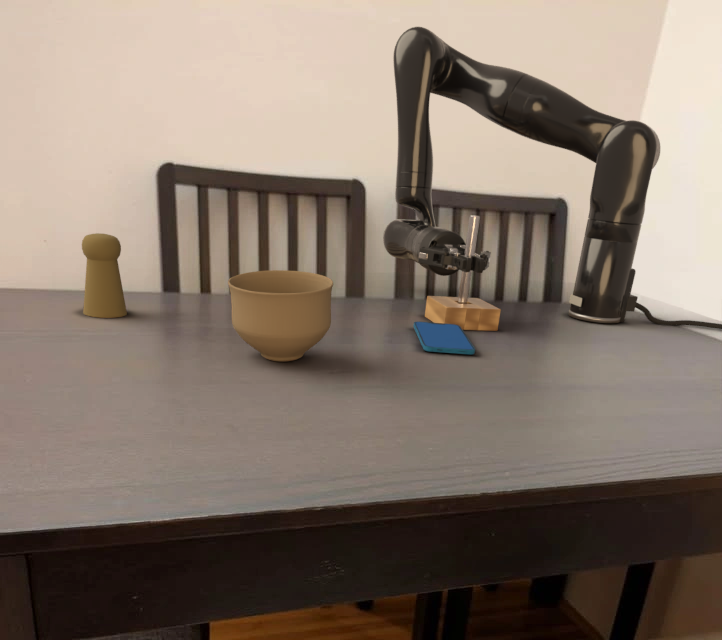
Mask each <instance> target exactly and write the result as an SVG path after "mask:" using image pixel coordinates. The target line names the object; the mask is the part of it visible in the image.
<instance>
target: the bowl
mask: <svg viewBox="0 0 722 640" xmlns="http://www.w3.org/2000/svg"><path fill="white" fill-rule="evenodd" d="M227 284H228V286H229V291H230V301H231V323H232V327H233V329H234V331H235V332H236V333H237V334H238V336H239V337H240V338H241V340H243V341H244V342H245V343H246V344H247V345H249V346H250V347H251V348H253V349H254V350H255V351H257V352H258V353H260V355H261V357H263V358H264V359H266V360H269V361H272V362H281V363H283V362H292V361H296V360H298V359H301V358H302V357H303V356H304V354H305V353H306V352H308V351H309V350H310V349H311V348H313V347H314V346H315V345H317V344H318V343H319V342H321V340H322V339H323V338H324V337H325V335H326V334H327V333H328V331H329V330H330V329H331V328H330V327H331V324H332V291H333V288H334V281H333V280H332V279H331V278H329V277H328V276H325V275H322V274H319V273H314V272H307V271H300V270H287V269H285V270H283V269H281V270H280V269H279V270H278V269H277V270H273V269H272V270H271V269H269V270H257V271H250V272H243V273H239V274H237V275H234V276H232V277H230V278H229V279H228V281H227Z"/></svg>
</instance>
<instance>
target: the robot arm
mask: <svg viewBox="0 0 722 640" xmlns="http://www.w3.org/2000/svg"><path fill="white" fill-rule="evenodd" d="M392 57H393V58H392V59H393V62H392V63H393V74H394V75H393V76H394V84H395V94H396V95H395V96H396V113H397V115H396V116H397V118H396V119H397V157H396V175H395V176H396V177H395V193H394V194H395V195H394V196H395V198H394V199H395V202H396V203H397V204H398V205H399V206H401V207H405V208H407V209H410V210H413V209H414V210H416V213H415V215H416V217H417V219H404V218H403V219H402V218H399V219H397V218H396V219H393V220H391V221H390V222H389V223H388V224H387V225H386V227H385V228H384V230H383V236H382V240H383V241H382V242H383V246H384V248H385V251H386V252H387V253H388V255H390V256H391V257H394V258H397V259H403V260H410V261H413V262H415V263H417V264H419V265H420V266H421V267H423V268H424V269H426V270H428V271H430V272H432V273H433V274H436V275H438V276H443V277H447V276H451V275H454V274H456V273H458V271H461V272H462V271H464V272H470V269H471V262H472V259H471V258H470V257H467V256H464V253H465V246H466V241H465V240H464V238H463V237H462V235H460V234H459V233H457V232H455V231H452V230H450V229H446V228H443V227H441V226H436V221H435V217H434V216H435V215H434V210H433V209H434V208H433V201H432V200H433V199H432V191H433V190H432V189H433V174H434V152H433V143H432V142H433V141H432V134H431V127H430V98H431V94H434V95H437V96H440V97H444V98H447V99H450V100H452V101H455V102H458V103H461V104H463V105H465V106H466V107H468V108H469V109H471V110H472V111H474V112H475V113H477V114H478V115H480V116H482V117H484V118H485V119H486V120H488V121H490V122H492V123H493V124H496V125H498V126H499V127H501V128H504V129H506V130H508V131H510V132H513V133H514V134H516V135H519V136H522V137H524V138H527V139H529V140H532V141H535V142H538V143H541V144H544V145H549V146H552V147H555V148H560V149H564V150H567V151H570V152H574V153H575V154H578V155H580V156H582V157H584V158H586V159H587V160H590V161H591V162H593V163H595V167H594V173H593V179H592V184H591V190H590V195H589V213H588V217H587V221H586V226H585V232H584V237H583V242H582V247H581V251H580V257H579V261H578V267H577V270H576V271H577V272H576V276H575V282H574V286H573V291H572V294H570V297H569V301H568V303H569V305H570V306H569V310H568V316H569V317H571V318H574V319H577V320H580V321H585V322H590V323H599V324H618V323H625V320H626V315H627V312H635V309H638V310H639V311H640V312H642V313H643V314H644V316H645V317H646V319H647V320H648V321H649V322H651V323H652V324H655V325H661V326H675V327H678V326H692V327H700V328H707V329H708V328H709V329H717V330H722V323H716V322H708V321H700V320H688V319H685V320H683V319H681V320H662V319H659V318H656V317H654V316H653V315H652V313H651V311H650V310H649V309H648V308H647V307H646V306H645V305H643V304H641V303H639V302H637V301H638V296H636V295H634V294H631V293H632V289H633V285H634V281H635V277H636V269H635V268H633V264H634V259H635V256H636V250H637V248H638V247H637V246H638V241H639V237H640V233H641V229H642V224H643V220H644V216H645V211H646V201H647V195H648V190H649V186H650V180H651V176H652V171H653V169H654V168H655V167H656V165H657V164H658V162H659V160H660V156H661V142H660V141H661V140H660V139H659V136H658V134H657V133H656V131H655V130H654V129H653V128H652V127H651V126H649V125H648V124H646V123H644V122H642V121H639V120H633V119H632V120H625V119H622V118H618V117H616V116H612V115H609V114H606V113H603V112H600V111H598V110H595V109H594V108H592V107H590V106H588V105H586V104H585V103H584V102H582V101H580V100H579V99H577V98H575V97H574V96H573V95H570V94H569V93H567V92H566V91H564V90H563V89H561V88H558V87H556V86H555V85H553V84H551V83H549V82H547V81H545V80H542V79H540V78H538V77H536V76H533V75H531V74H528V73H526V72H522V71H520V70H516V69H513V68H509V67H506V66H499V65H494V64H488V63H483V62H481V61H478V60H476V59H473V58H472V57H470V56H468V55H466V54H465V53H462V52H461V51H459V50H457V49H456V48H454V47H452V46H451V45H450V44H448V43H447V42H445V41H444V40H443V38H440V37H439V36H437V34H435V32H433V31H431V30H430V29H429V28H427V27H423V26H413V27H410V28H408V29H406V30H405V31H404V32H403V33H402V34H401V35H400V36H399V38H398V39H397V41H396V43H395V46H394V51H393V56H392ZM414 210H413V211H414ZM491 255H492V252H491V251H489V250H485V251H480V252H479V254H478V253H476V252H475V254H474V261H473V267H472V272H474V273H477V274H482V273H483V272H484V271H486V270H487V269H488V268H489V267H490V262H491Z"/></svg>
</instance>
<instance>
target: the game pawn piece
mask: <svg viewBox="0 0 722 640" xmlns="http://www.w3.org/2000/svg"><path fill="white" fill-rule="evenodd" d="M81 250H82V253H83V255H84V256H85V258H86V265H85V267H86V268H85V281H84V294H83V295H84V297H83V310H82V314H83V315H84V316H87V317H93V318H101V319H103V318H104V319H108V318H109V319H114V318H122V317H125V316H127V314H128V312H127V306H126V300H125V295H124V289H123V284H122V283H123V282H122V278H121V274H120V267H119V262H118V259H119V257H120V256H121V252H122V245H121V241H120V240H119V239H118V237H116V236H115V235H111V234H108V233H99V232H98V233H97V232H96V233H89V234H86V235H84V237H83V238H82V241H81Z"/></svg>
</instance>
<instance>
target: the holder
mask: <svg viewBox="0 0 722 640" xmlns="http://www.w3.org/2000/svg"><path fill="white" fill-rule="evenodd" d="M457 302H458V296H442V295H441V296H440V295H439V296H438V295H427V296H426V303H425V310H424V317H425V318H426V319H428V320H429V321H430V322H431V323H444V324H455V325H459V326H460V327H461V328H462V330H463V331H487V332H488V331H490V332H491V331H493V332H497V331H498V329H499V324H500V319H501V318H500V316H501V311H502V310H501V308H498V307H497V306H495V305H493V304H492V303H489V302H487V301H485V300H483V299H481V298H479V297H468V301H467V304H459V303H457Z"/></svg>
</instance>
